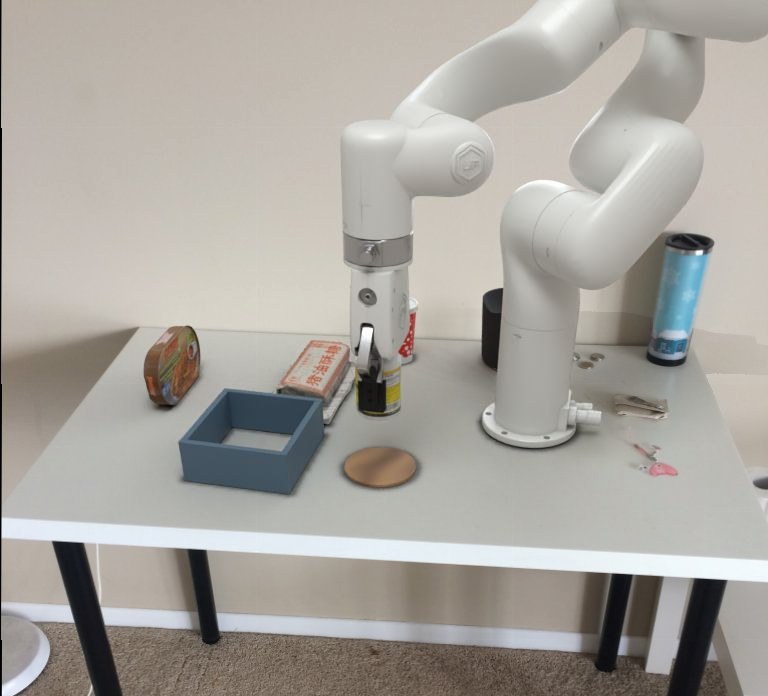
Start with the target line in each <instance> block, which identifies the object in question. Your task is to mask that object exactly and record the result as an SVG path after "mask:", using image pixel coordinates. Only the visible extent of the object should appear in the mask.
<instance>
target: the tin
mask: <svg viewBox="0 0 768 696" xmlns="http://www.w3.org/2000/svg"><path fill="white" fill-rule="evenodd" d="M201 358H202V357H201V345H200V341H199V337H198V335H197V332H196V331H195V329H194V328H193V327H192V326H191V325H188V324H187V325H174V326H170V327H169V328H167V330H166V331H165V332H164V333H163V334H162V335H161V336H160V337H159V338H158V340H157V341H156V342H155V343H154V344H153V345H152V346H151V347H150V348H149V349H148V351H147V352H146V355H145V357H144V361H143V378H144V382H145V387H146V391H147V393H148V397H149V399H150V400H151V402H153V403H154V404H157V405H169V406H175V405H177V404H178V403H179V402H180V401H181V400H182V398H183V397H184V395H185V394H186V393H187V391H188V390H189V389H190V387H191V386H192V385H193V384H194V383H195V381H196V380H197V378H198V376H199V374H200V373H199V372H200V369H201Z"/></svg>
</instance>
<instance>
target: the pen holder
mask: <svg viewBox="0 0 768 696" xmlns="http://www.w3.org/2000/svg"><path fill="white" fill-rule="evenodd" d="M502 303H503V287H497V288H493V289H490V290H488V291H486V292H485V293H484V294H483V295H482V302H481V304H482V305H481V306H482V308H481V360H482V361H483V363H484V364H485V366H486V367H489V368H491V369H493V370H497V369H498V356H499V343H500V329H501V316H502Z"/></svg>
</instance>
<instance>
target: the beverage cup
mask: <svg viewBox="0 0 768 696" xmlns="http://www.w3.org/2000/svg"><path fill="white" fill-rule="evenodd" d="M409 304H410V328H409V332H408V335H407V337H406V339H405V340H404V342H403V344H402V346H401V348H400V350H399V351H398V353H399V354H400V356H401V365H405V364H408V363H411V362H412V361H413V357H414V356H413V355H414V345H415V331H416V319H417V311H419V301H418V300H417V299H416V298H413V297H411V296H409Z"/></svg>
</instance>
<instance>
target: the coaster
mask: <svg viewBox="0 0 768 696" xmlns="http://www.w3.org/2000/svg"><path fill="white" fill-rule="evenodd" d="M343 468H344V474H345V476H346V477H347V478H348V479H349V480H351V481H352V482H354V483H355V484H358V485H360V486H364V487H368V488H379V489H380V488H390V487H396V486H398V485H399V486H400V485H402V484H404V483H406V482H407V481H409V480H411V479H412V478H413V477H414V475H415V474H416V471H417V463H416V460H415V459H414V458H413V456H411V455H410V454H409V453H407V452H406V451H403V450H401V449H398V448H393V447H387V446H386V447H385V446H375V447H367V448H364V449H360V450H357V451H355V452H353V453H352V454H350V456H348V457H347V458H346V460H345V462H344V467H343Z"/></svg>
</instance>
